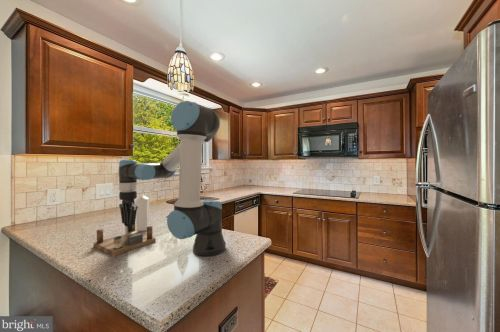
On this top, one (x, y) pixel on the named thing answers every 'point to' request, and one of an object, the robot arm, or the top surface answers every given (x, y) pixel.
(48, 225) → the top surface
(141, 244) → the wooden peg board
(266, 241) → the top surface
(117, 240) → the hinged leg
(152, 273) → the top surface
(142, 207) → the milk
